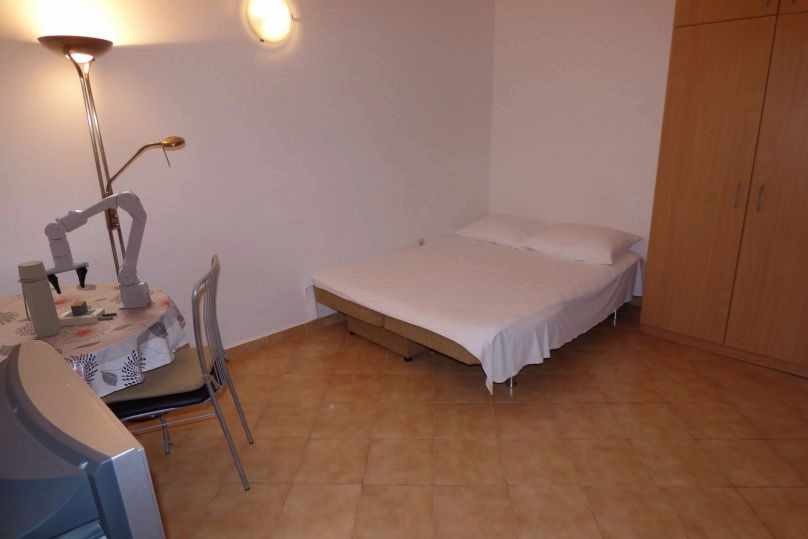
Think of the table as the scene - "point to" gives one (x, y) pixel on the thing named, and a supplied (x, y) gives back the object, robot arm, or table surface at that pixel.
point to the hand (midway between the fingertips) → (71, 290)
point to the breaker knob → (79, 308)
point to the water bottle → (39, 298)
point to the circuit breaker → (81, 317)
